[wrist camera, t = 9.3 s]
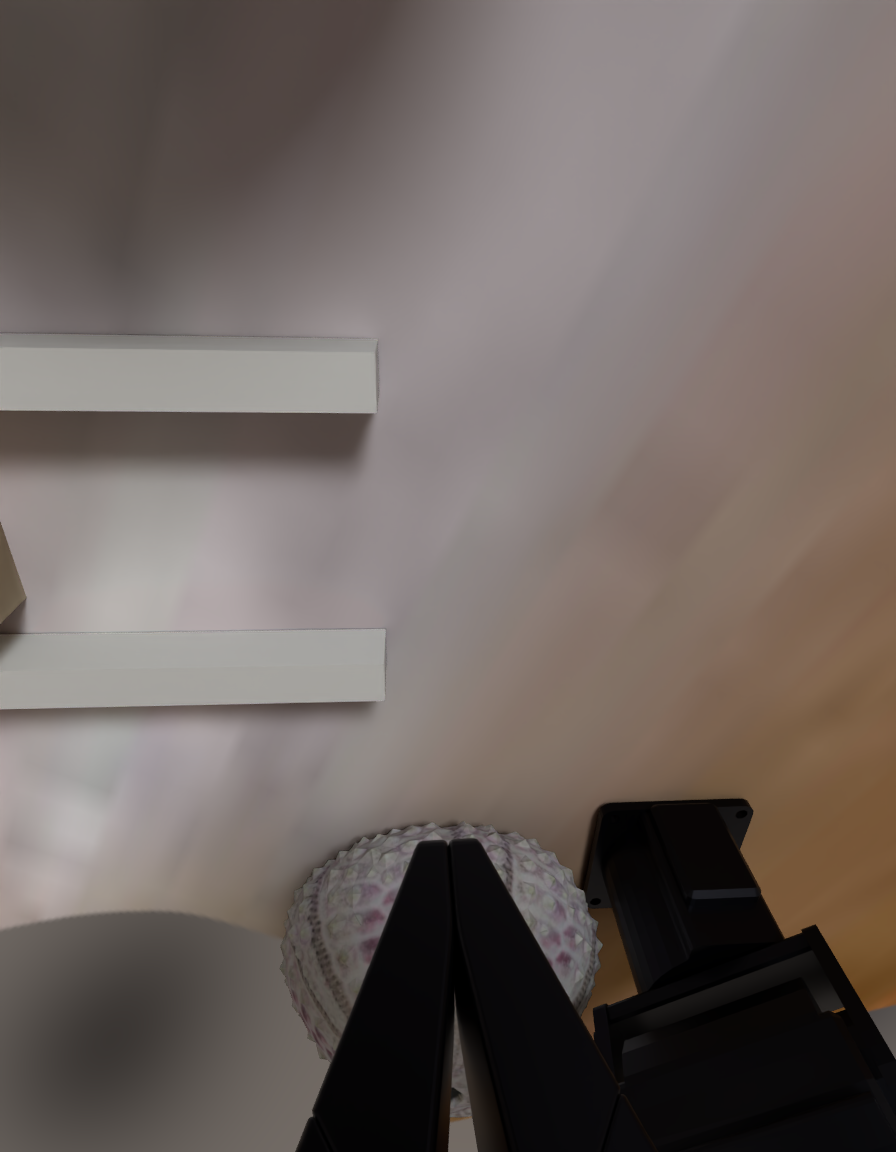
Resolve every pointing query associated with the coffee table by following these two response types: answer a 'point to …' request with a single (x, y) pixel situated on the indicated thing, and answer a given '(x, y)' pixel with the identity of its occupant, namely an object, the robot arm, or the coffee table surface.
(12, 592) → the birch block
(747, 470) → the coffee table surface
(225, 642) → the channel
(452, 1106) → the sea urchin shell
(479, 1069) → the robot arm
